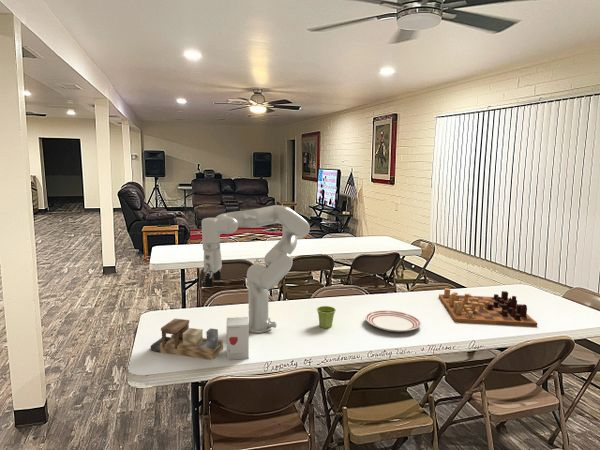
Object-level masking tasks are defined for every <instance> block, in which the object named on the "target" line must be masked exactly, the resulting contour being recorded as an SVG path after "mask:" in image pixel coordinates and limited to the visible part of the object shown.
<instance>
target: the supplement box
mask: <svg viewBox="0 0 600 450" xmlns="http://www.w3.org/2000/svg"><path fill="white" fill-rule="evenodd" d="M248 323H249V316H243V317H242V316H241V317H238V316H237V317H235V316H234V317H227V318H226V359H227V360H226V361H228V360H229V361H232V360H247V359H249V358H250V357H249V347H250V346H249V345H250V343H249V342H250V341H249V340H250V339H249V337H250V335H249V333H250V332H249V324H248Z"/></svg>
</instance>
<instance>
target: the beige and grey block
mask: <svg viewBox="0 0 600 450" xmlns="http://www.w3.org/2000/svg"><path fill="white" fill-rule="evenodd" d="M205 334H206V339H207V342H203V338H204V337H203V329H200V328H194V327H193V328H191V327H189V329H188V330H186V331H185V332H184V333H183V345H185V346H193V347H200V348H208V349H214V350H215V349H216V348H217V347H218V346H219V344H218V340H219V330H218V328H209V329H207V330H206V333H205Z"/></svg>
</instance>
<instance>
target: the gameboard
mask: <svg viewBox="0 0 600 450" xmlns="http://www.w3.org/2000/svg"><path fill="white" fill-rule="evenodd" d="M438 299H439V300H440V302H441V303H442V305H443V306H444V307H445V310H446V311H447V313H448V314H449V315H450V317H451V318H452V320H453V321H454V323H465V324H482V325H497V326H499V325H500V326H517V327H538V322H537V321H536V320H534V319H533V318H532V316H530V315H529V314H528V313H527V312H528V306H527V304H524V303H523V304H521V303H520V304H518V300H517V296H516V295H512V296H510V297H509V292H508V291H506V290H505V291H504V290H503V291H501V296H499V294H496V293H494V294H493V296H483V295H482V296H480V295H471V293H464V294H463V295H460V294H458V292H456V291H454V292H452V293H451V289H450V288H448V287H447V288H446V287H445V288H444V291H443V293H441V294H438Z"/></svg>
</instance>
